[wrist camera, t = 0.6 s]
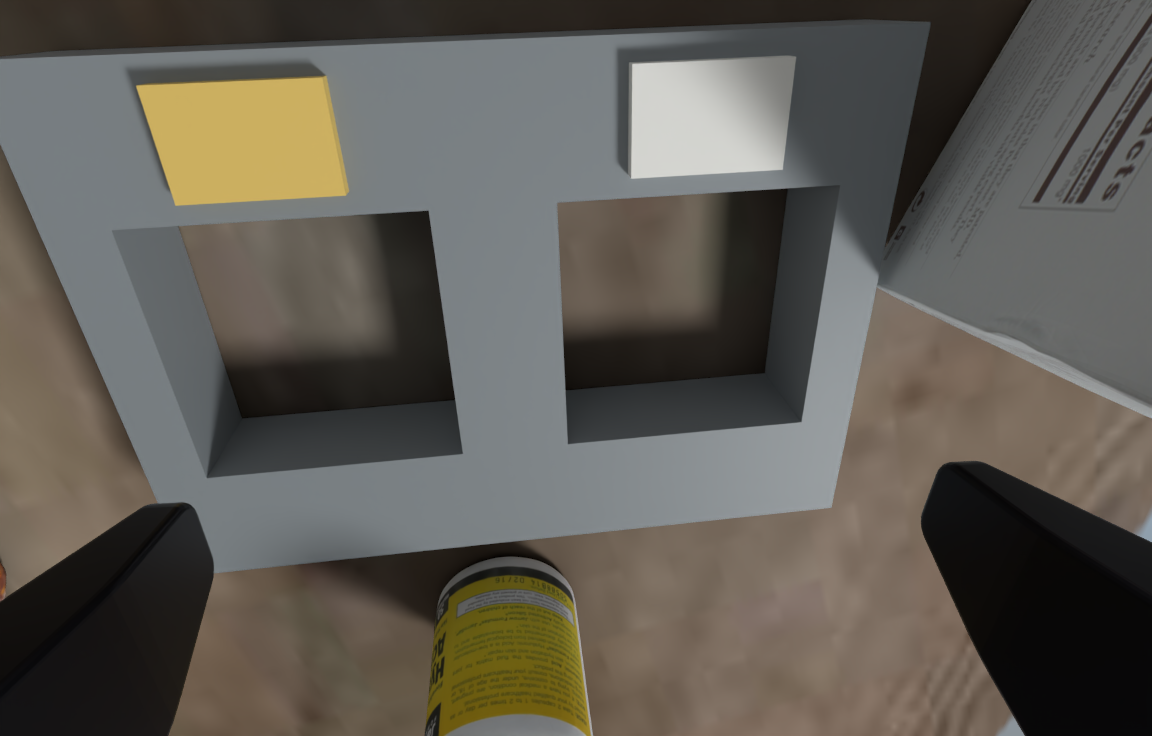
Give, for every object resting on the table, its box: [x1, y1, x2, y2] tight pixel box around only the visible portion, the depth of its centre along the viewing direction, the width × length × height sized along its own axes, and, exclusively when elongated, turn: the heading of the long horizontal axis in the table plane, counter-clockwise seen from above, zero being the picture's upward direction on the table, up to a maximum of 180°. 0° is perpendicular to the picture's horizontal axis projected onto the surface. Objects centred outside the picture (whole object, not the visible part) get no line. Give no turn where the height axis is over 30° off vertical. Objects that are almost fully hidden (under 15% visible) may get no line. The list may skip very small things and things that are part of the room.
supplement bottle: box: [425, 557, 593, 736], centre depth 22 cm, size 5×5×10 cm
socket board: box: [0, 19, 931, 573], centre depth 18 cm, size 20×14×3 cm
